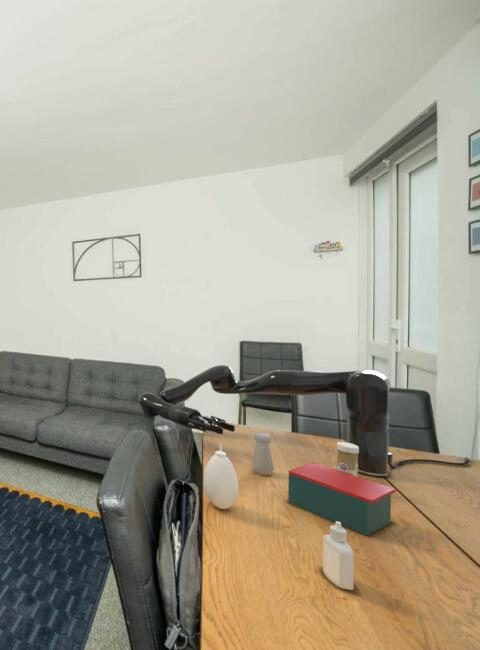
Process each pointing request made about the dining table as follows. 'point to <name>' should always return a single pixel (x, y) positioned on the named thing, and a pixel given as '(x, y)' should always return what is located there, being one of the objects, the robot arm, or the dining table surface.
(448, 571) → the dining table surface
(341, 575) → the eye dropper bottle
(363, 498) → the lid
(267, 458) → the salt shaker
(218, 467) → the sauce bottle
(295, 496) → the lunchbox
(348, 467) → the sprinkles bottle
